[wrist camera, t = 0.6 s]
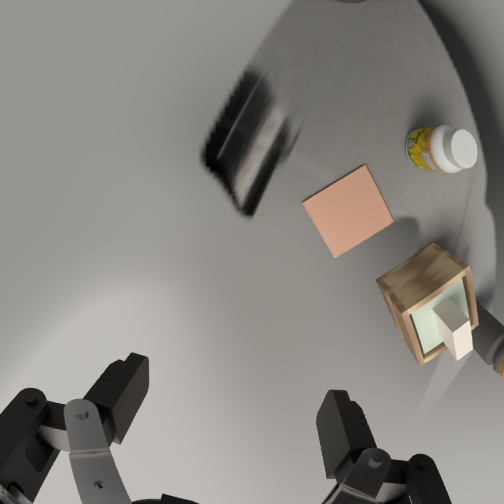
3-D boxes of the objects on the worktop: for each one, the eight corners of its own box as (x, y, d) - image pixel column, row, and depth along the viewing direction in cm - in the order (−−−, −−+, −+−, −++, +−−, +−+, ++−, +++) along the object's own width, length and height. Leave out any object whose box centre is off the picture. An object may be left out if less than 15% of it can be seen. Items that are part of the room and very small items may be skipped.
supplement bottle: (419, 177, 29) (463, 186, 20) (396, 144, 28) (436, 140, 19) (443, 154, 28) (488, 156, 19) (421, 121, 27) (464, 113, 18)
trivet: (364, 164, 30) (365, 164, 29) (392, 221, 31) (393, 221, 31) (301, 202, 32) (302, 203, 31) (334, 257, 33) (334, 258, 33)
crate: (432, 242, 32) (469, 265, 23) (448, 295, 34) (478, 324, 25) (375, 279, 34) (401, 313, 25) (397, 329, 36) (419, 366, 28)
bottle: (468, 331, 36) (510, 382, 21) (449, 327, 36) (493, 383, 21) (483, 303, 34) (531, 349, 20) (465, 297, 34) (517, 347, 19)
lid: (457, 274, 25) (485, 296, 19) (465, 318, 27) (488, 342, 21) (407, 308, 27) (430, 338, 21) (421, 349, 29) (440, 379, 23)
